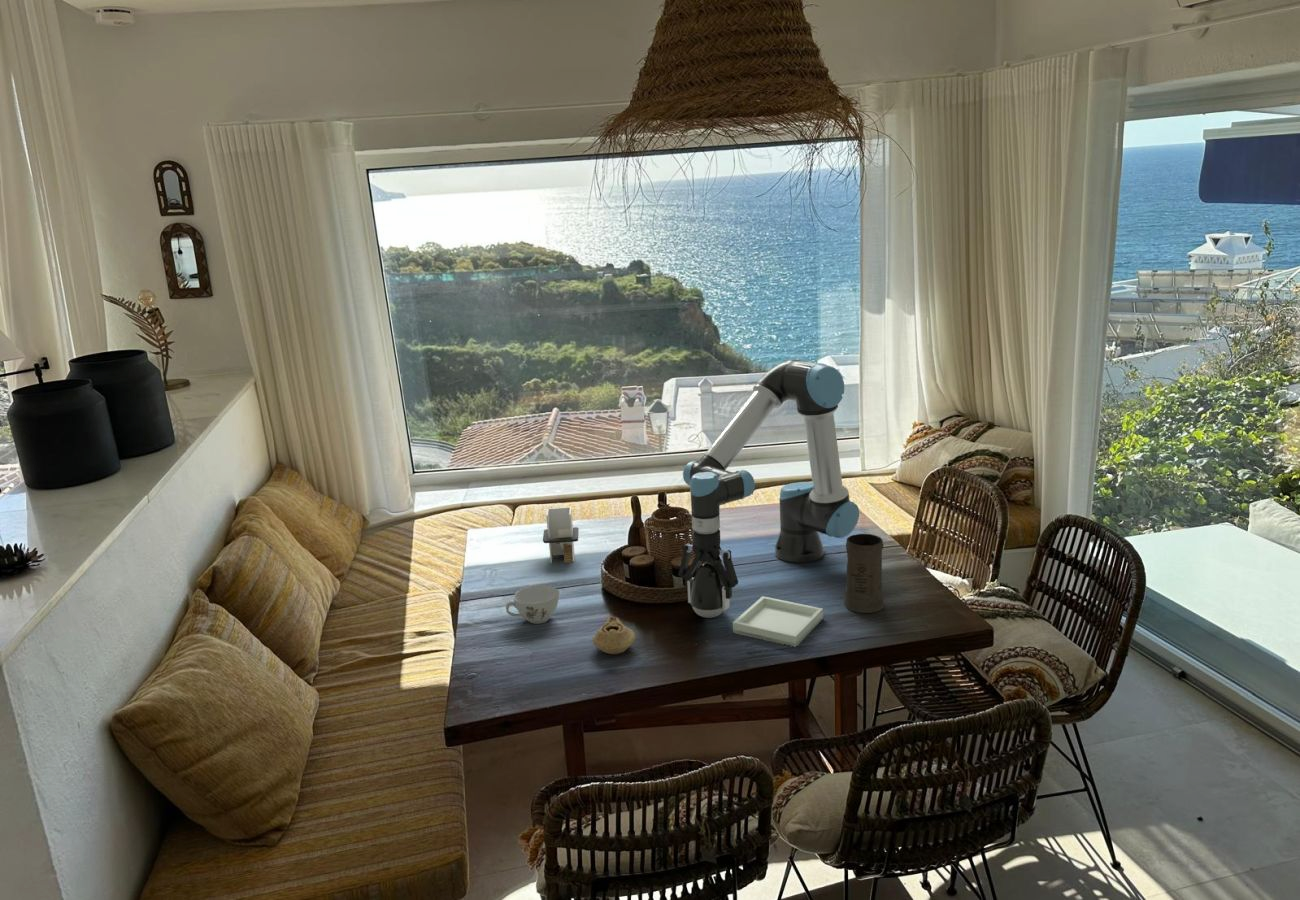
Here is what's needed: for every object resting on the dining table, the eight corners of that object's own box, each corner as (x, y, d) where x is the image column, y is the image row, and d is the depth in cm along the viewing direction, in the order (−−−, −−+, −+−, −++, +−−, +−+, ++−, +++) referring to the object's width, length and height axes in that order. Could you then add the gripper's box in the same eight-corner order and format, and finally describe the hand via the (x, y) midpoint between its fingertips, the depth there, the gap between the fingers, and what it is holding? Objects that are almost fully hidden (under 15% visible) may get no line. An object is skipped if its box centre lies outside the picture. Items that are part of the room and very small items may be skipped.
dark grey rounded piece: (697, 625, 255) (695, 573, 251) (686, 609, 265) (684, 559, 261) (733, 618, 258) (731, 567, 253) (720, 603, 267) (718, 553, 263)
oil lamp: (627, 631, 254) (626, 604, 252) (641, 657, 240) (639, 628, 238) (587, 638, 251) (585, 610, 249) (598, 664, 237) (596, 635, 235)
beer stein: (884, 615, 255) (885, 545, 250) (844, 613, 257) (844, 543, 253) (882, 595, 269) (883, 528, 265) (844, 593, 272) (844, 527, 267)
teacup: (555, 606, 271) (553, 580, 269) (565, 624, 260) (563, 598, 257) (503, 616, 267) (501, 590, 265) (511, 634, 255) (508, 607, 253)
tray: (762, 605, 264) (762, 596, 264) (822, 618, 255) (822, 608, 254) (732, 632, 250) (732, 622, 249) (795, 647, 240) (795, 636, 240)
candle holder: (521, 576, 294) (516, 527, 289) (526, 547, 317) (522, 501, 312) (601, 571, 295) (598, 522, 290) (601, 542, 318) (597, 496, 313)
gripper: (663, 527, 257) (666, 602, 263) (737, 540, 245) (739, 618, 252) (677, 518, 263) (680, 591, 269) (750, 531, 251) (751, 607, 258)
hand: (708, 604), depth 260 cm, fingers closed on dark grey rounded piece, 10 cm apart
